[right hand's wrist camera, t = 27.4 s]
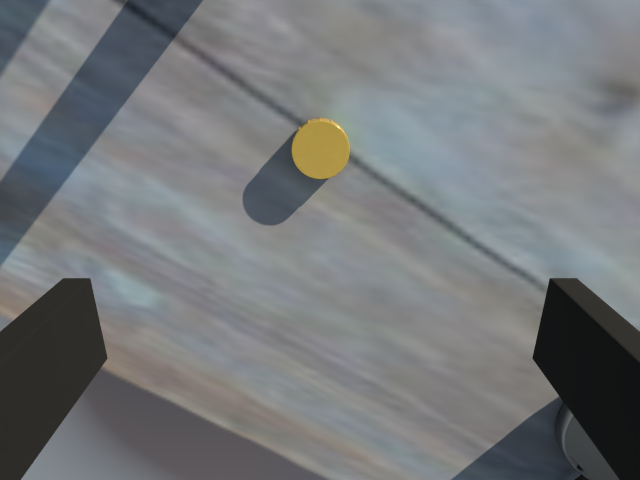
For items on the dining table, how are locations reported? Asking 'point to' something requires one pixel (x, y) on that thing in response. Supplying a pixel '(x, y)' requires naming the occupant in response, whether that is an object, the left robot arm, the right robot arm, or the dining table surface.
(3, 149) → the dining table surface
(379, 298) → the dining table surface
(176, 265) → the dining table surface
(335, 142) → the lid
